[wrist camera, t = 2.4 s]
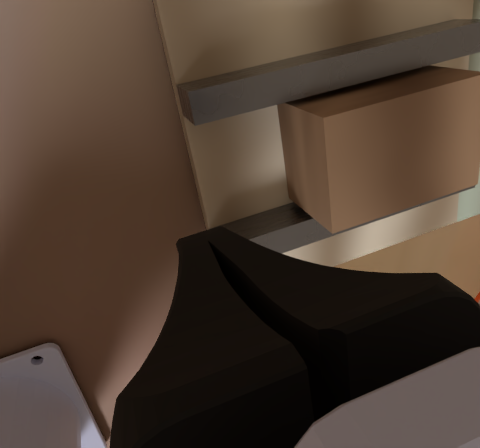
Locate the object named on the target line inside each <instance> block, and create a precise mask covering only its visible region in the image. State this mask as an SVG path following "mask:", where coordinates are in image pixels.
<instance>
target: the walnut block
mask: <svg viewBox="0 0 480 448" xmlns="http://www.w3.org/2000/svg"><path fill="white" fill-rule="evenodd" d="M277 109H278V117H279V124H280V132H281V140H282V148H283V156H284V164H285V172H286V180H287V187H288V195H289V199H291V200H292V201H293V202H294V203H295V204H297V205H298V206H299V207H300V208H302V209H303V210H304V211H305V212H306V213H308V214H309V215H310V216H311V217H313V218H314V219H315V220H316V221H317V222H319V223H320V224H321V225H322V226H324V227H325V228H326V229H327V230H328V231H330V232H331V233H332V234H333V233H336V232H339V231H342V230H345V229H348V228H351V227H354V226H357V225H360V224H363V223H366V222H369V221H371V220H374V219H377V218H380V217H383V216H386V215H389V214H392V213H395V212H398V211H401V210H404V209H407V208H410V207H413V206H415V205H418V204H421V203H424V202H427V201H430V200H433V199H436V198H439V197H442V196H445V195H448V194H451V193H454V192H457V191H460V190H462V189H465V188H468V187H471V186H474V185H477V184H478V179H479V168H480V72H479V71H471V70H463V69H455V68H447V67H439V66H431V65H428V66H424V67H421V68H417V69H413V70H409V71H405V72H401V73H397V74H394V75H390V76H386V77H382V78H378V79H374V80H370V81H367V82H363V83H359V84H355V85H351V86H347V87H343V88H340V89H336V90H332V91H328V92H324V93H320V94H316V95H313V96H309V97H305V98H301V99H297V100H293V101H289V102H286V103H282V104H278V105H277Z"/></svg>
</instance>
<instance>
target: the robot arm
mask: <svg viewBox="0 0 480 448" xmlns="http://www.w3.org/2000/svg"><path fill="white" fill-rule="evenodd" d="M176 246H177V249H178V253H179V266H178V276H177V282H176V287H175V292H174V297H173V300H172V304H171V307H170V310H169V313H168V316H167V319H166V321H165V324H164V326H163V328H162V330H161V333H160V335H159V337H158V339H157V341H156V343H155V345H154V347H153V348H152V350H151V352H150V353H149V355H148V357H147V358H146V360H145V362H144V363H143V365H142V367H141V368H140V370H139V371H138V372H137V373H136V375H135V376H134V377H133V378H132V380H131V381H130V382H129V383H128V385H127V386H126V387H125V388H124V390H123V391H122V392H121V393H120V394H119V395H118V397H117V399H116V404H115V409H114V415H113V421H112V429H111V437H110V448H480V305H479V304H478V303H477V302H476V301H475V300H474V299H473V298H472V297H471V296H470V295H469V294H467V293H466V292H464V291H463V290H462V289H460V288H459V287H457V286H456V285H454V284H453V283H451V282H450V281H449V280H447V279H446V278H444V277H443V276H441V275H440V274H438V273H379V272H365V271H356V270H348V269H342V268H335V267H330V266H325V265H320V264H316V263H312V262H308V261H304V260H300V259H297V258H293V257H290V256H287V255H285V254H282V253H279V252H276V251H274V250H271V249H269V248H266V247H264V246H261V245H259V244H257V243H255V242H252V241H250V240H248V239H246V238H244V237H242V236H240V235H238V234H236V233H234V232H232V231H230V230H228V229H226V228H224V227H222V226H219V227H216V228H212V229H209V230H206V231H203V232H200V233H196V234H193V235H190V236H187V237H184V238H181V239H179V240H178V241H177V243H176ZM34 356H41V357H42V358H41V359H37V360H36V359H33V357H34ZM0 448H107V444H106V441H105V439H104V437H103V435H102V433H101V431H100V429H99V427H98V425H97V423H96V421H95V419H94V417H93V415H92V413H91V411H90V409H89V407H88V405H87V402H86V400H85V398H84V396H83V394H82V392H81V390H80V388H79V386H78V384H77V382H76V380H75V378H74V376H73V374H72V372H71V370H70V368H69V366H68V364H67V361H66V359H65V357H64V355H63V353H62V351H61V349H60V347H59V346H58V345H56V344H54V343H45V344H42V345H39V346H36V347H33V348H31V349H28V350H25V351H22V352H19V353H16V354H13V355H10V356H8V357H5V358H2V359H0Z"/></svg>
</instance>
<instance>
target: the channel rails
mask: <svg viewBox="0 0 480 448" xmlns="http://www.w3.org/2000/svg"><path fill="white" fill-rule="evenodd" d="M478 52H480V19H453V20H449V21H445V22H441V23H436V24H432V25H428V26H424V27H419V28H415V29H411V30H407V31H402V32H398V33H394V34H390V35H385V36H381V37H377V38H373V39H368V40H364V41H360V42H356V43H351V44H347V45H343V46H339V47H334V48H330V49H326V50H321V51H317V52H313V53H309V54H304V55H300V56H296V57H292V58H287V59H283V60H279V61H275V62H270V63H266V64H262V65H258V66H253V67H249V68H245V69H241V70H236V71H232V72H228V73H224V74H219V75H215V76H211V77H207V78H202V79H198V80H194V81H190V82H185V83H181V84H177V85H176V88H177V92H178V96H179V101H180V105H181V109H182V114H183V116H184V117H185V118H186V119H188V120H189V121H190V122H191V123H192V124H193V125H195V126H197V125H201V124H205V123H208V122H212V121H216V120H220V119H224V118H228V117H232V116H235V115H239V114H243V113H247V112H251V111H255V110H259V109H262V108H266V107H270V106H274V105H278V104H282V103H286V102H289V101H293V100H297V99H301V98H305V97H309V96H313V95H316V94H320V93H324V92H328V91H332V90H336V89H340V88H343V87H347V86H351V85H355V84H359V83H363V82H367V81H370V80H374V79H378V78H382V77H386V76H390V75H394V74H397V73H401V72H405V71H409V70H413V69H417V68H421V67H424V66H428V65H432V64H436V63H440V62H444V61H448V60H451V59H455V58H459V57H463V56H467V55H471V54H475V53H478ZM472 188H475V185H474V186H471V187H468V188H465V189H462V190H460V191H457V192H454V193H451V194H448V195H445V196H442V197H439V198H436V199H433V200H430V201H427V202H424V203H421V204H418V205H415V206H413V207H410V208H407V209H404V210H401V211H398V212H395V213H392V214H389V215H386V216H383V217H380V218H377V219H374V220H371V221H369V222H366V223H363V224H360V225H357V226H354V227H351V228H348V229H345V230H342V231H339V232H336V233H333V234H332V233H331V232H330V231H328V230H327V229H326V228H325V227H324V226H322V225H321V224H320V223H319V222H317V221H316V220H315V219H314V218H313V217H311V216H310V215H309V214H308V213H306V212H305V211H304V210H303V209H302V208H300V207H299V206H298V205H297V204H295V203H294V202H292V203H289V204H286V205H283V206H279V207H276V208H273V209H270V210H267V211H264V212H260V213H257V214H254V215H251V216H248V217H245V218H241V219H238V220H235V221H232V222H229V223H226V224H222V225H219V226H222V227H224V228H226V229H228V230H230V231H232V232H234V233H236V234H238V235H240V236H242V237H244V238H246V239H248V240H250V241H252V242H255V243H257V244H259V245H261V246H264V247H266V248H269V249H271V250H274V251H276V252H279V253H285V252H288V251H291V250H294V249H296V248H299V247H302V246H305V245H308V244H311V243H314V242H317V241H320V240H323V239H326V238H329V237H332V236H334V235H337V234H340V233H343V232H346V231H349V230H352V229H355V228H358V227H361V226H364V225H367V224H370V223H372V222H375V221H378V220H381V219H384V218H387V217H390V216H393V215H396V214H399V213H402V212H405V211H408V210H410V209H413V208H416V207H419V206H422V205H425V204H428V203H431V202H434V201H437V200H440V199H443V198H446V197H449V196H451V195H454V194H457V193H460V192H463V191H466V190H469V189H472ZM219 226H216V227H219ZM216 227H213V228H216ZM210 229H212V228H210Z"/></svg>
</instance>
